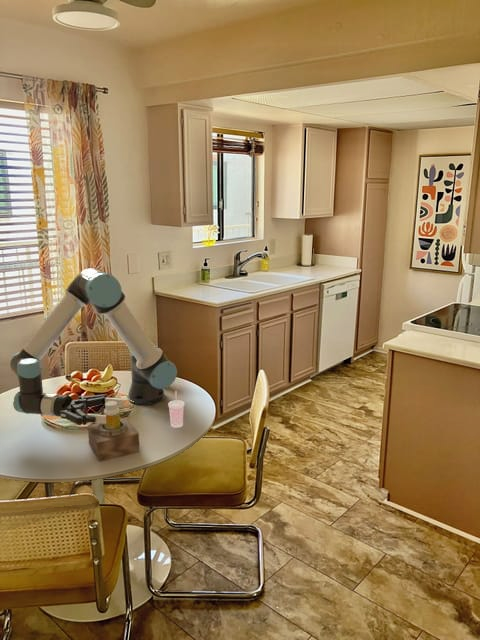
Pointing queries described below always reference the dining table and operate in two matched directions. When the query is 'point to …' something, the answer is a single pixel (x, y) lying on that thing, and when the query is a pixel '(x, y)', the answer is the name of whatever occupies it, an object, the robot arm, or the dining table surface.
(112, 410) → the supplement bottle
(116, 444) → the carrier block
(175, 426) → the beverage cup
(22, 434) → the dining table surface
